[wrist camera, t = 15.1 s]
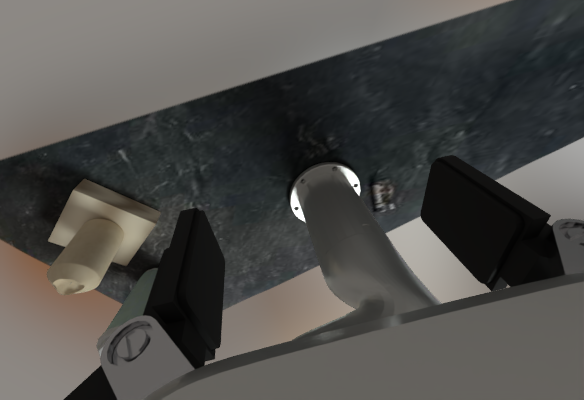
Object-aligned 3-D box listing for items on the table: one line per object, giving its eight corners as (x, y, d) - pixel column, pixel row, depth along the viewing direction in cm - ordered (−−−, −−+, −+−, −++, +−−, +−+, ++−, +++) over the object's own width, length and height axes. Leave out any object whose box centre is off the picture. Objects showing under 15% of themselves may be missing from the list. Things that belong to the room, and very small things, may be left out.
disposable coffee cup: (160, 300, 54) (137, 381, 42) (114, 276, 48) (72, 362, 35) (199, 278, 52) (186, 355, 40) (156, 249, 46) (126, 331, 34)
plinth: (160, 212, 41) (156, 223, 39) (132, 253, 45) (126, 266, 43) (84, 178, 36) (73, 189, 34) (59, 228, 40) (47, 241, 37)
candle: (111, 250, 40) (79, 307, 32) (74, 232, 37) (29, 290, 29) (132, 231, 39) (104, 285, 31) (95, 211, 36) (54, 266, 28)
